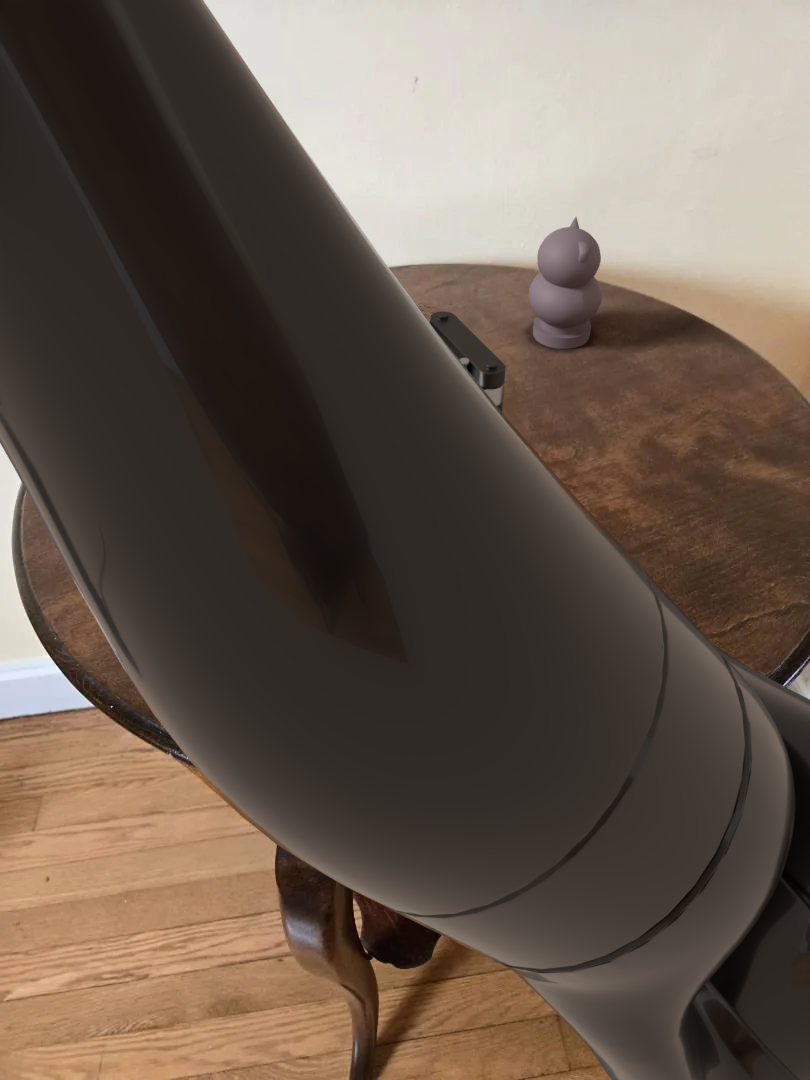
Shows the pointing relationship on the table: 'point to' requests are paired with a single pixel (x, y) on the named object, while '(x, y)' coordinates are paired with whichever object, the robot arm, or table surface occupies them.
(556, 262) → the cat figurine
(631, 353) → the table surface
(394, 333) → the robot arm
